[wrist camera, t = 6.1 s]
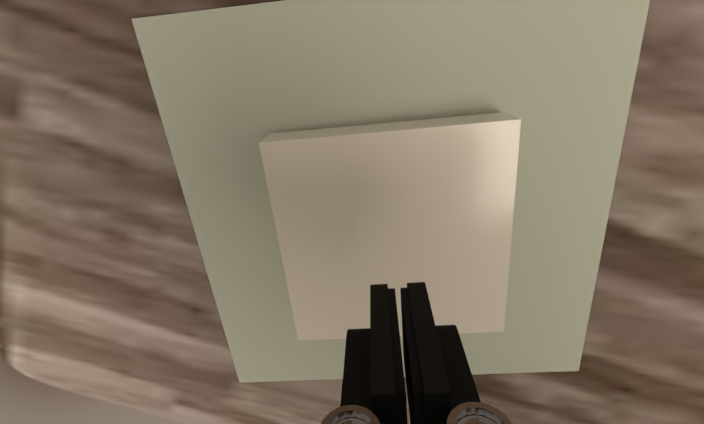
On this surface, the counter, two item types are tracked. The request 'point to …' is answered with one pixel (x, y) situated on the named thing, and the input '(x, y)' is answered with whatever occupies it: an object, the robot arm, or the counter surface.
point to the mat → (396, 106)
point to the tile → (395, 218)
